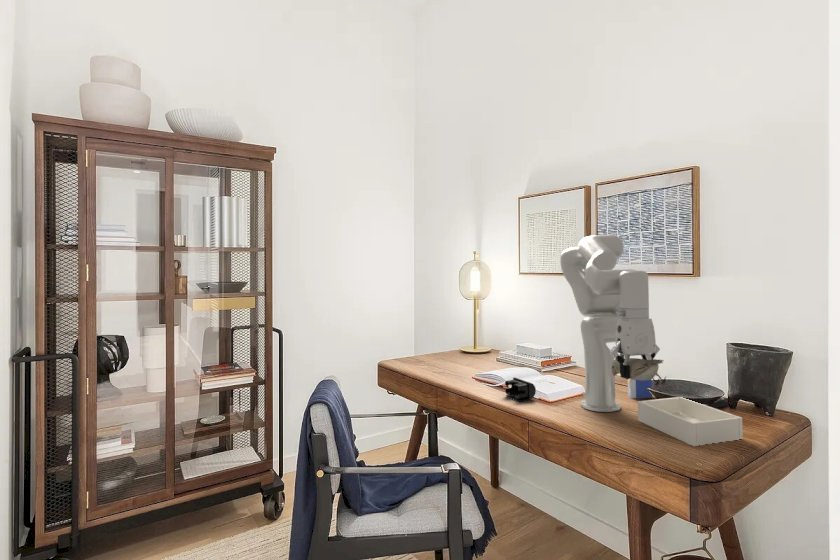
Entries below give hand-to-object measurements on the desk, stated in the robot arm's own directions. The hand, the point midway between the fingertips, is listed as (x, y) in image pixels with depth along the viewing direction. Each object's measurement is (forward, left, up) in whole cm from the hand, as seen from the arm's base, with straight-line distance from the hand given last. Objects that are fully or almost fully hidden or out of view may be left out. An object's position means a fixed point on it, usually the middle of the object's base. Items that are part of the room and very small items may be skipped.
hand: (635, 376), depth 129 cm
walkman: (-32, +25, -17) cm, 44 cm away
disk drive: (-18, +38, -17) cm, 46 cm away
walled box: (+1, +16, -17) cm, 23 cm away
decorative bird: (+1, 0, -1) cm, 2 cm away
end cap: (-45, -16, -17) cm, 50 cm away
